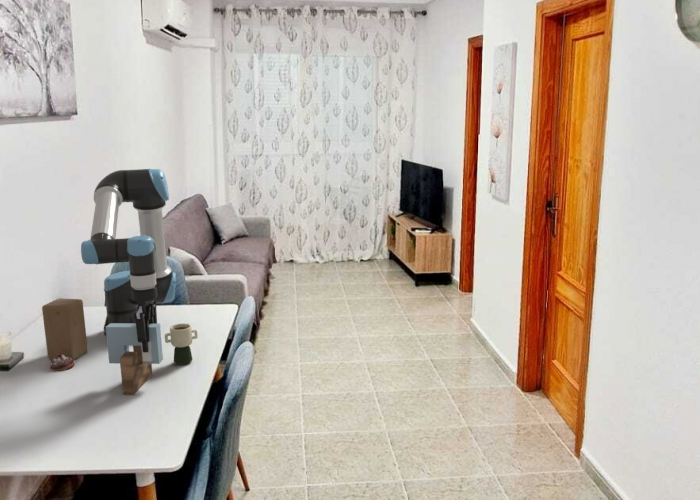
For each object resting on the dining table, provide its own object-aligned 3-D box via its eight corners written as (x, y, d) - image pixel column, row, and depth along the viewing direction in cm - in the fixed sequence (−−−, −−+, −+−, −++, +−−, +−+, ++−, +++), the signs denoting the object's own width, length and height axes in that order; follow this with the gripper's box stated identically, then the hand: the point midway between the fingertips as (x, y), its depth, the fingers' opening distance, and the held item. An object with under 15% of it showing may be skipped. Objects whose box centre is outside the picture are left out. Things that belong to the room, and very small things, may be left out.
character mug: (197, 356, 237) (195, 321, 234) (201, 363, 230) (198, 327, 228) (165, 361, 233) (162, 325, 230) (168, 368, 227) (165, 332, 224)
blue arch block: (109, 363, 212) (105, 327, 209) (113, 359, 215) (110, 323, 213) (159, 363, 211) (156, 327, 208) (162, 359, 214) (159, 323, 212)
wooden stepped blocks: (142, 373, 223) (138, 339, 220) (152, 373, 222) (149, 339, 220) (123, 394, 207) (119, 357, 204) (134, 394, 207) (130, 357, 204)
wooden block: (72, 362, 234) (66, 307, 229) (47, 360, 236) (40, 305, 231) (89, 351, 243) (83, 298, 239) (64, 350, 245) (58, 297, 241)
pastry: (45, 369, 228) (43, 355, 227) (62, 361, 235) (61, 348, 234) (62, 373, 225) (61, 359, 224) (80, 365, 232) (78, 351, 230)
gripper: (141, 279, 216) (147, 348, 221) (121, 294, 200) (128, 368, 205) (164, 279, 215) (170, 349, 220) (146, 294, 199) (152, 368, 204)
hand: (149, 358), depth 213 cm, fingers closed on blue arch block, 3 cm apart
